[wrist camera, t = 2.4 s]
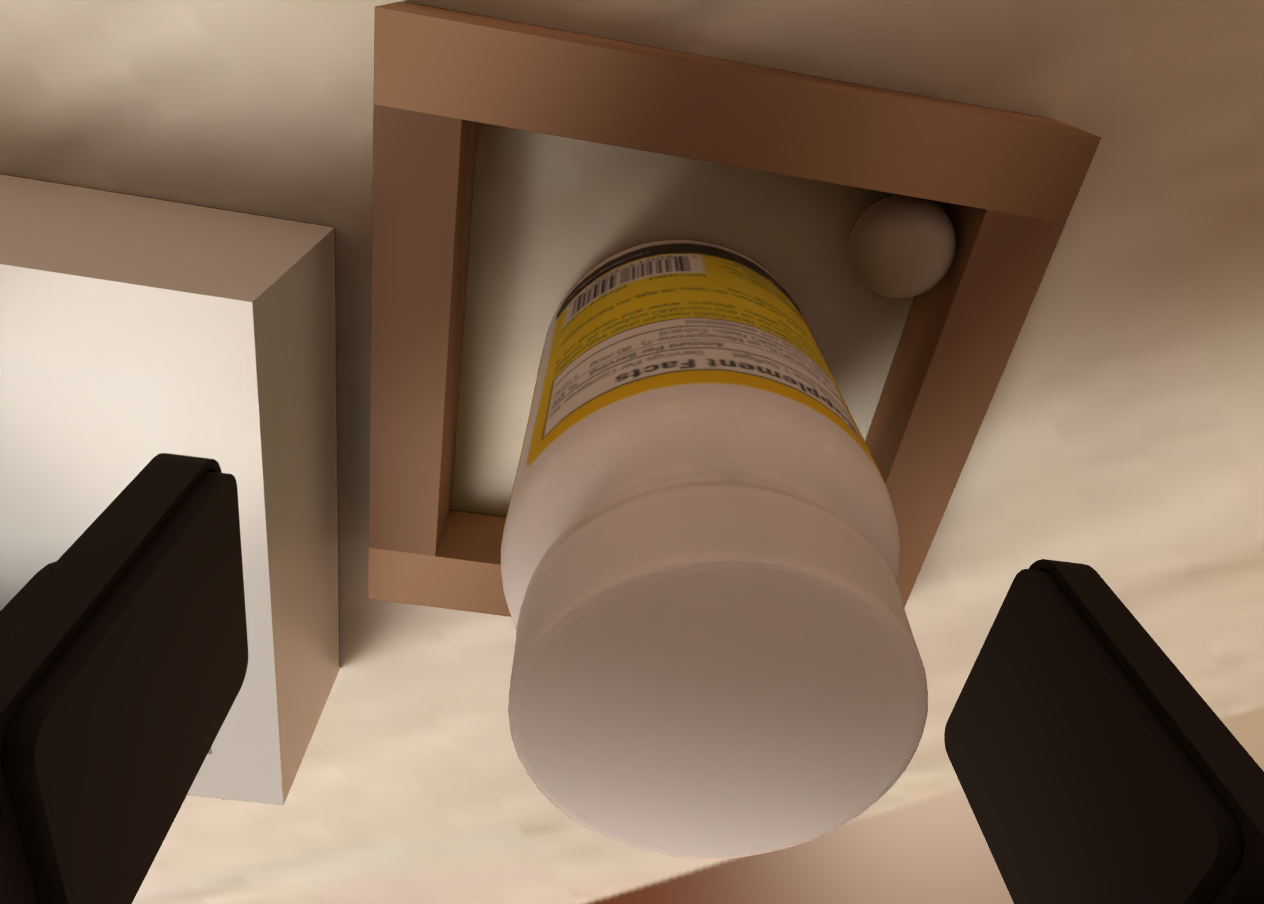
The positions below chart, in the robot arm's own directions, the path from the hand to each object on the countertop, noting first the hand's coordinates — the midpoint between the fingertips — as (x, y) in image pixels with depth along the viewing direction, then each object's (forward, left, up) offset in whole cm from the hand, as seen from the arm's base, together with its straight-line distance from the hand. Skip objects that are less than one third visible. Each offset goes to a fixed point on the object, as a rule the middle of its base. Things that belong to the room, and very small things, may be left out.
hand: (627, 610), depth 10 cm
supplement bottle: (-1, -1, -6) cm, 6 cm away
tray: (-1, -1, -6) cm, 6 cm away
